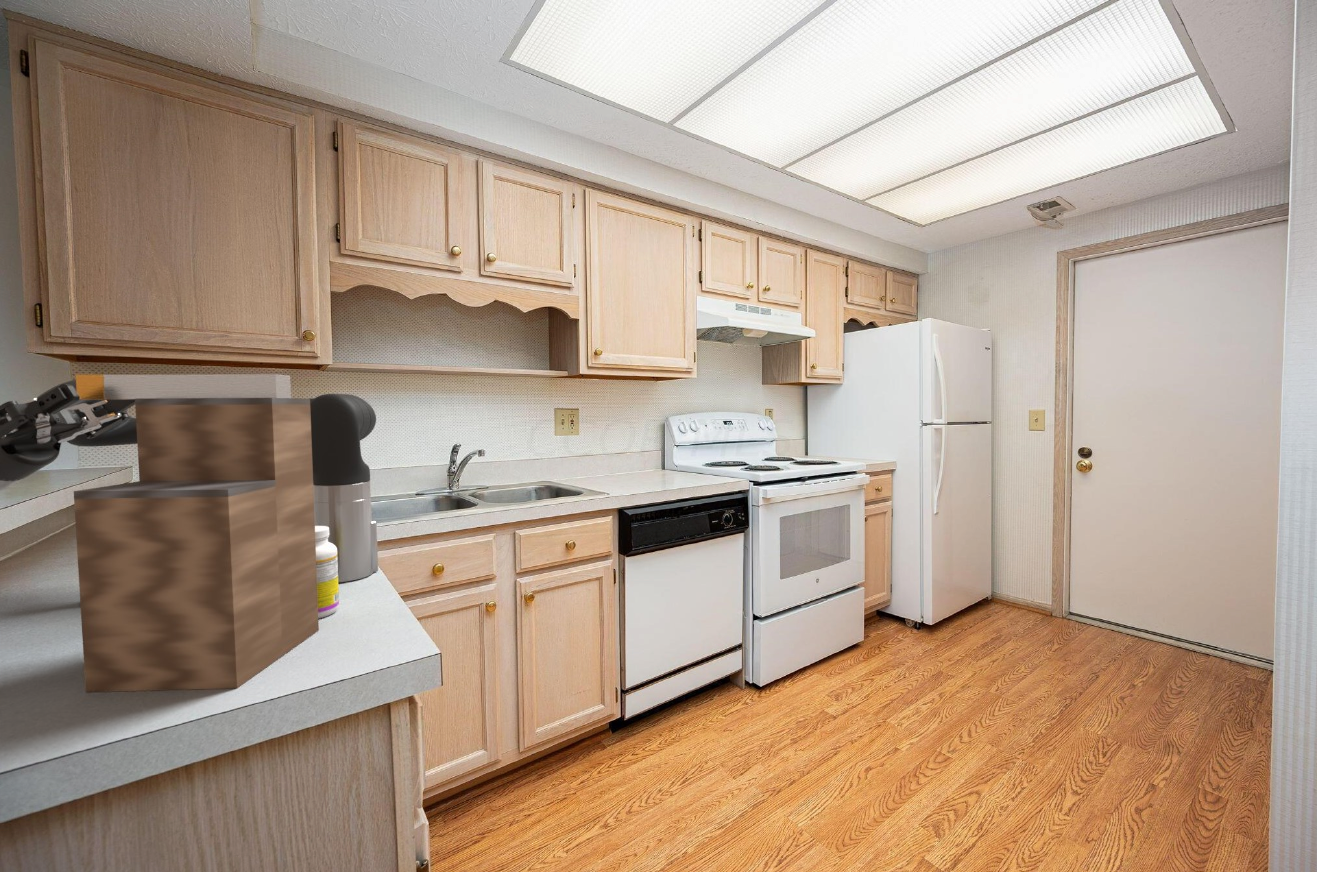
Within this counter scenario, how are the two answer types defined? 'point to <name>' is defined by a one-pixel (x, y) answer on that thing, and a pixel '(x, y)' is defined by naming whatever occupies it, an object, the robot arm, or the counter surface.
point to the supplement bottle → (326, 573)
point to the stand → (200, 547)
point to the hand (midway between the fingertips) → (107, 391)
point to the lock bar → (183, 386)
